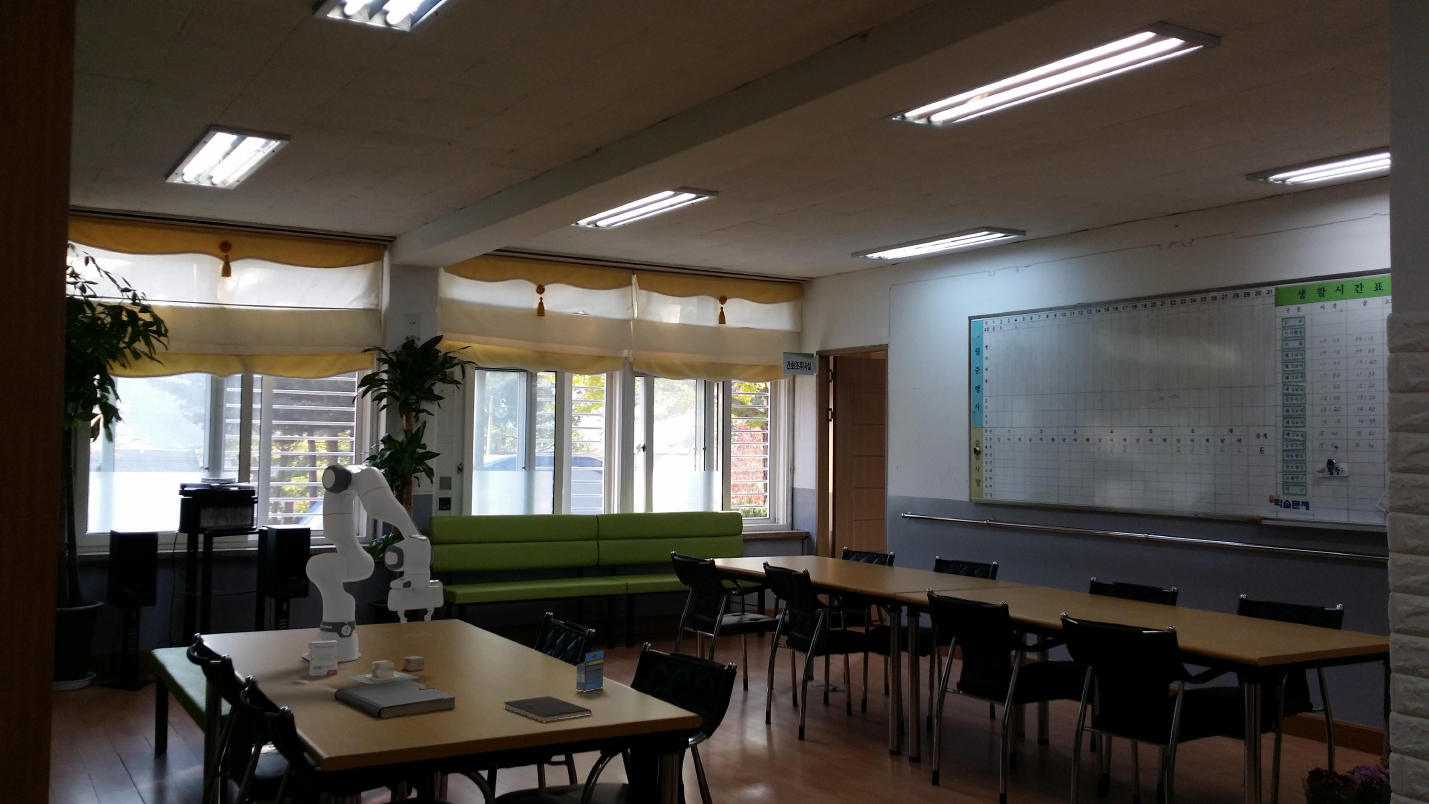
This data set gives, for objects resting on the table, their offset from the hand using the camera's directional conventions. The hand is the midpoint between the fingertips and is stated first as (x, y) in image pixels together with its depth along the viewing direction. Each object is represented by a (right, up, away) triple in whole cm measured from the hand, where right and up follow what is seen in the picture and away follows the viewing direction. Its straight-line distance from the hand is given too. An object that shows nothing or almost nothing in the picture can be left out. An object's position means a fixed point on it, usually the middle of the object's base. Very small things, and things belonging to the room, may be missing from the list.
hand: (415, 621), depth 376 cm
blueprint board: (-6, -16, -18) cm, 24 cm away
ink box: (-28, -16, -13) cm, 34 cm away
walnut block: (0, -17, -1) cm, 17 cm away
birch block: (-6, -15, -18) cm, 24 cm away
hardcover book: (+55, -15, -60) cm, 83 cm away
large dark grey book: (+8, -14, -52) cm, 55 cm away
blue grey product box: (+64, -17, -28) cm, 71 cm away
